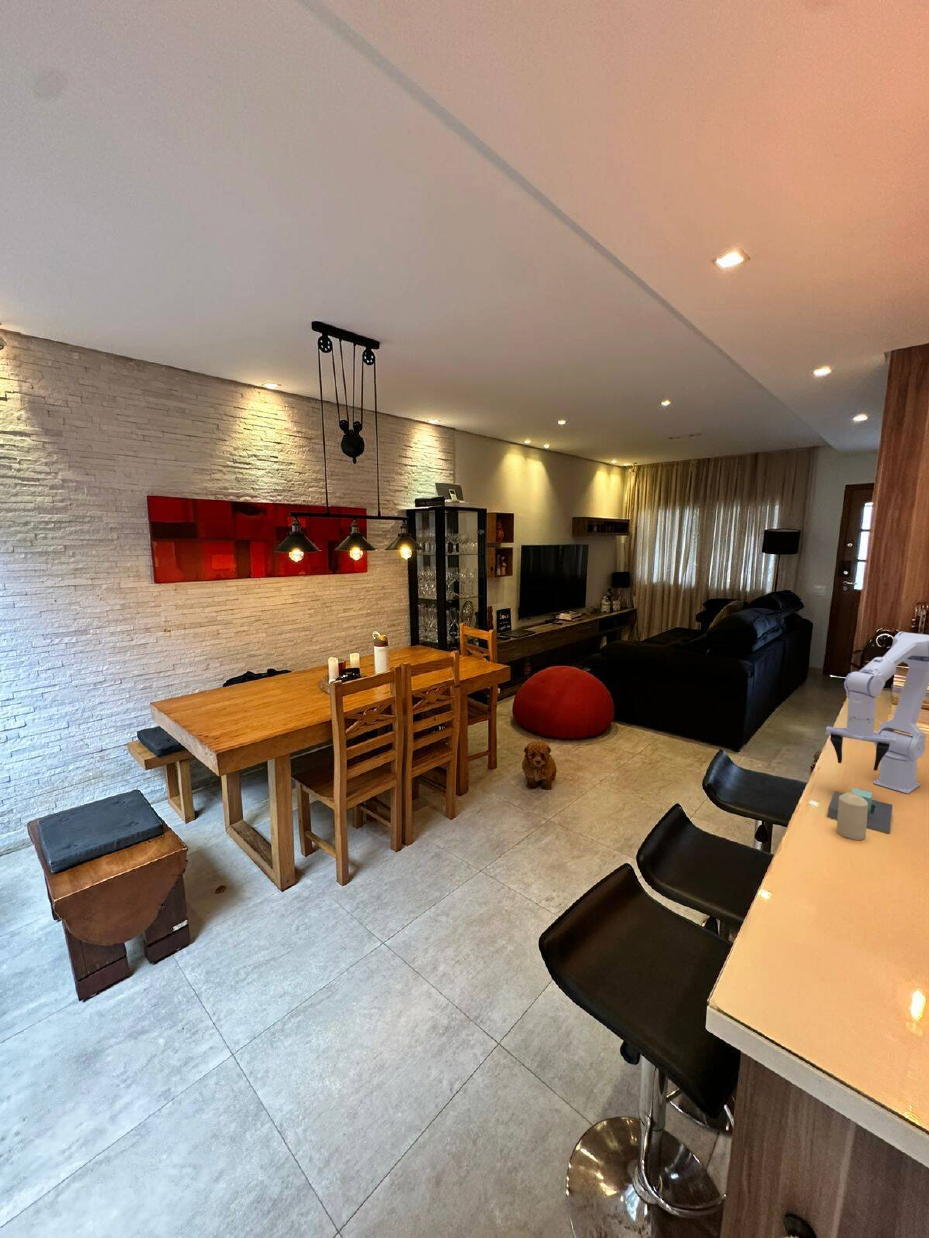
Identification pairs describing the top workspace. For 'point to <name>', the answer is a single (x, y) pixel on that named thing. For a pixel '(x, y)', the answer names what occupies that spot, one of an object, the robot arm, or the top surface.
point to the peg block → (865, 795)
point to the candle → (852, 816)
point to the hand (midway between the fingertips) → (857, 765)
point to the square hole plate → (875, 819)
